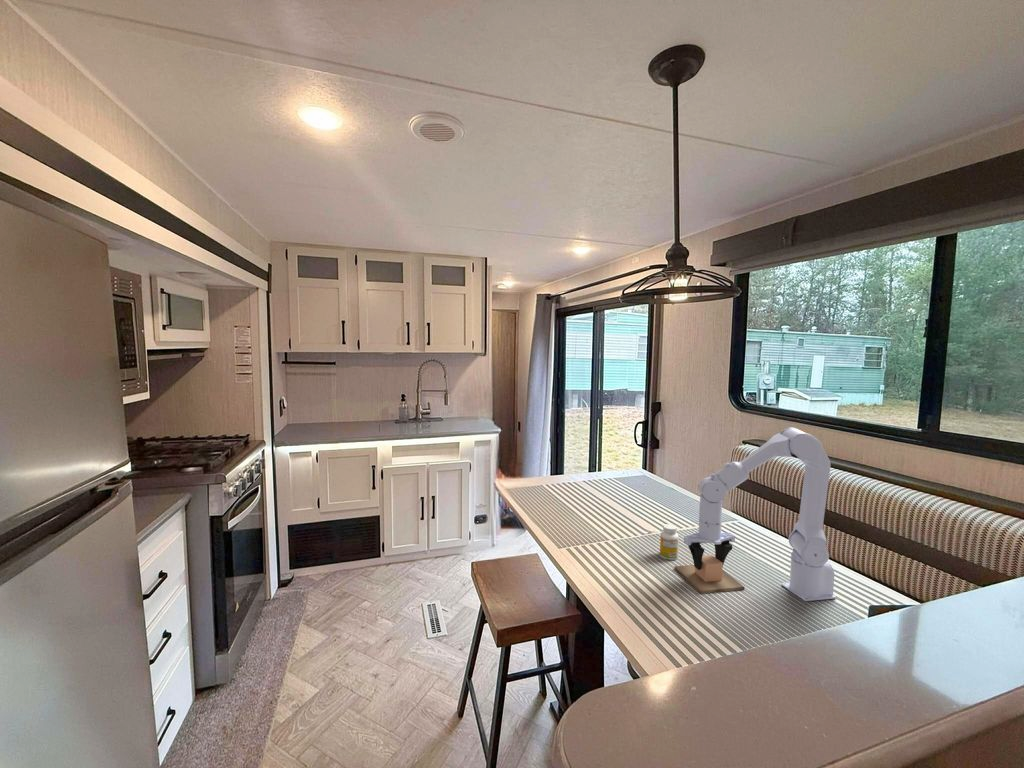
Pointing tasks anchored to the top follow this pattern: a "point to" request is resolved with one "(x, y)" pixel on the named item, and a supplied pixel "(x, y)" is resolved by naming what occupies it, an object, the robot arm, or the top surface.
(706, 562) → the terracotta block
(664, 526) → the supplement bottle
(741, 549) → the top surface
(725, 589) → the walnut board
